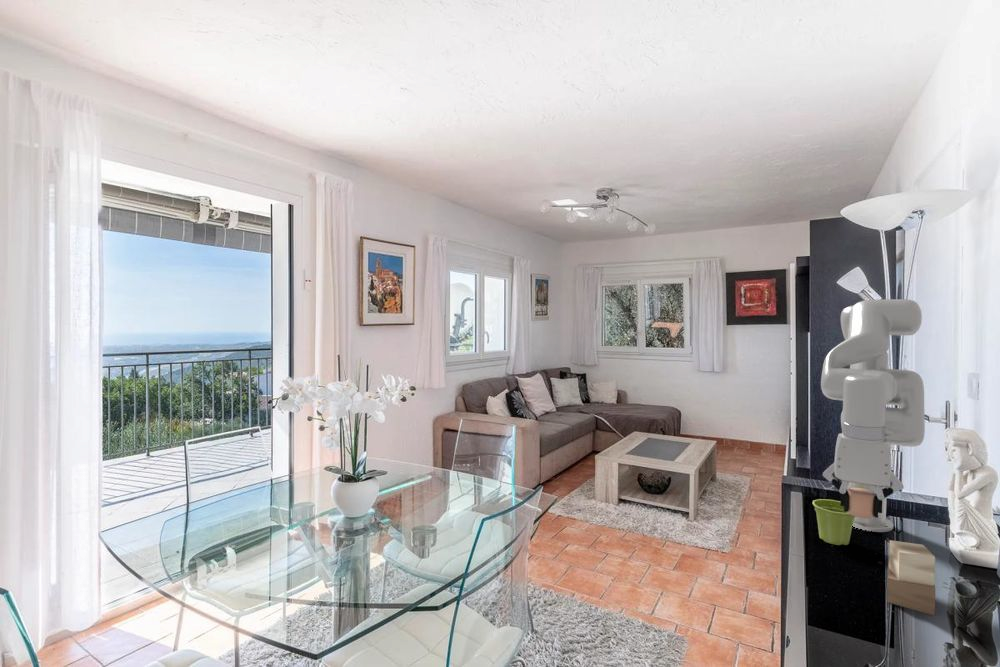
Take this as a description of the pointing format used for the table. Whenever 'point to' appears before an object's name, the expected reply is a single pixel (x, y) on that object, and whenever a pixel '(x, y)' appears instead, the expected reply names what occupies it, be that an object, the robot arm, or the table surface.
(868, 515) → the peach rounded solid
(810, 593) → the table surface
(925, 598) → the walnut block
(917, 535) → the table surface
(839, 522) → the plant pot
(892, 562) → the beech block
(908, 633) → the table surface
